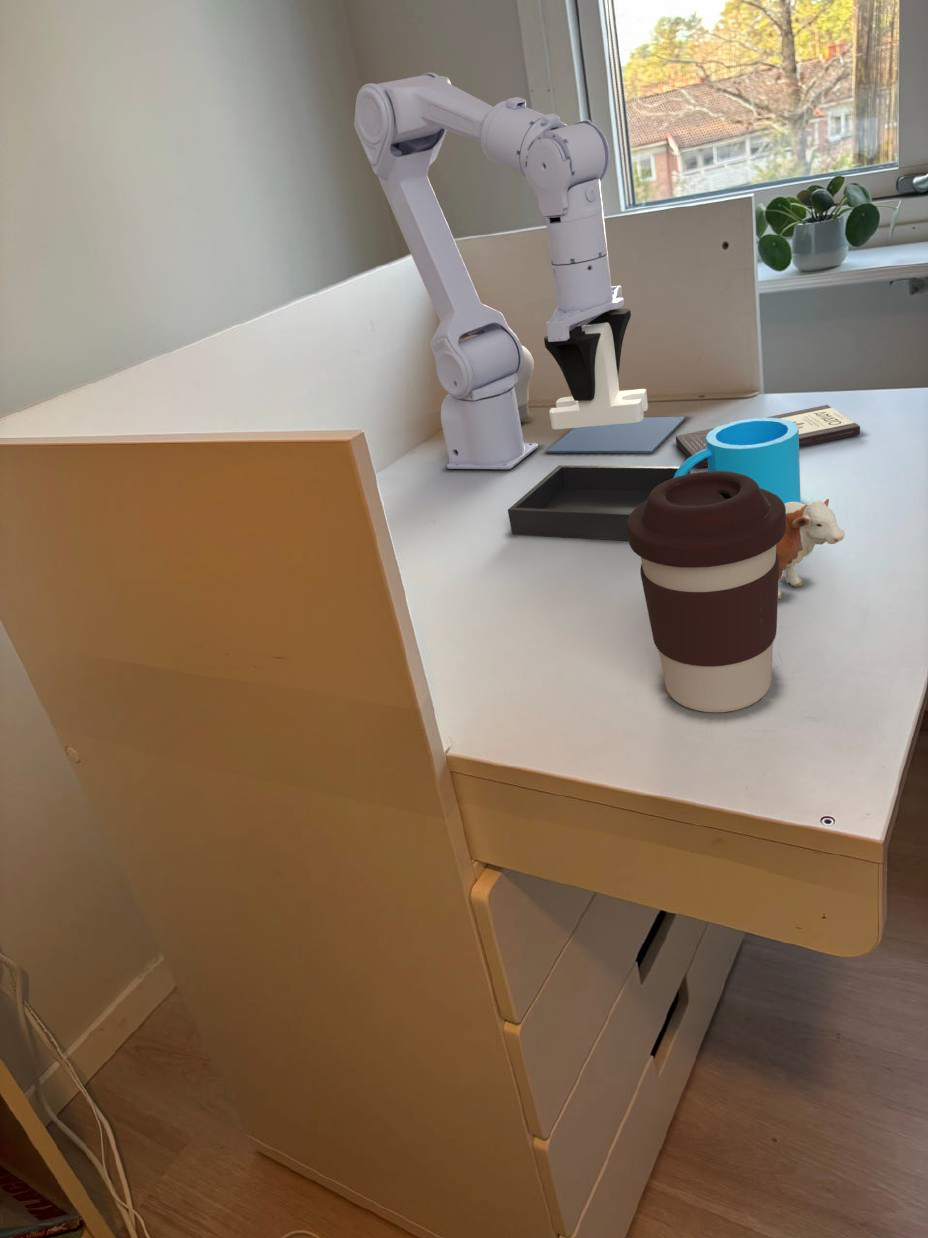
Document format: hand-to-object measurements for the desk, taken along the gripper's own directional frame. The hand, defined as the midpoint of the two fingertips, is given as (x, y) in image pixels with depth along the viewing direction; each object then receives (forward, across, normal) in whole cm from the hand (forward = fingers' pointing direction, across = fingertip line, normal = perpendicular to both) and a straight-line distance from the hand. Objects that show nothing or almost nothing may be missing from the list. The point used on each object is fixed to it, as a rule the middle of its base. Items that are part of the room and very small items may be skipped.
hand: (596, 390), depth 100 cm
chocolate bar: (+10, +12, -14) cm, 21 cm away
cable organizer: (+3, 0, 0) cm, 3 cm away
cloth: (+10, +14, +5) cm, 18 cm away
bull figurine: (+10, -23, -23) cm, 34 cm away
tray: (+10, -9, -3) cm, 14 cm away
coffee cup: (+10, -37, -24) cm, 45 cm away
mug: (+10, -9, -17) cm, 22 cm away
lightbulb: (+11, +20, +22) cm, 31 cm away
